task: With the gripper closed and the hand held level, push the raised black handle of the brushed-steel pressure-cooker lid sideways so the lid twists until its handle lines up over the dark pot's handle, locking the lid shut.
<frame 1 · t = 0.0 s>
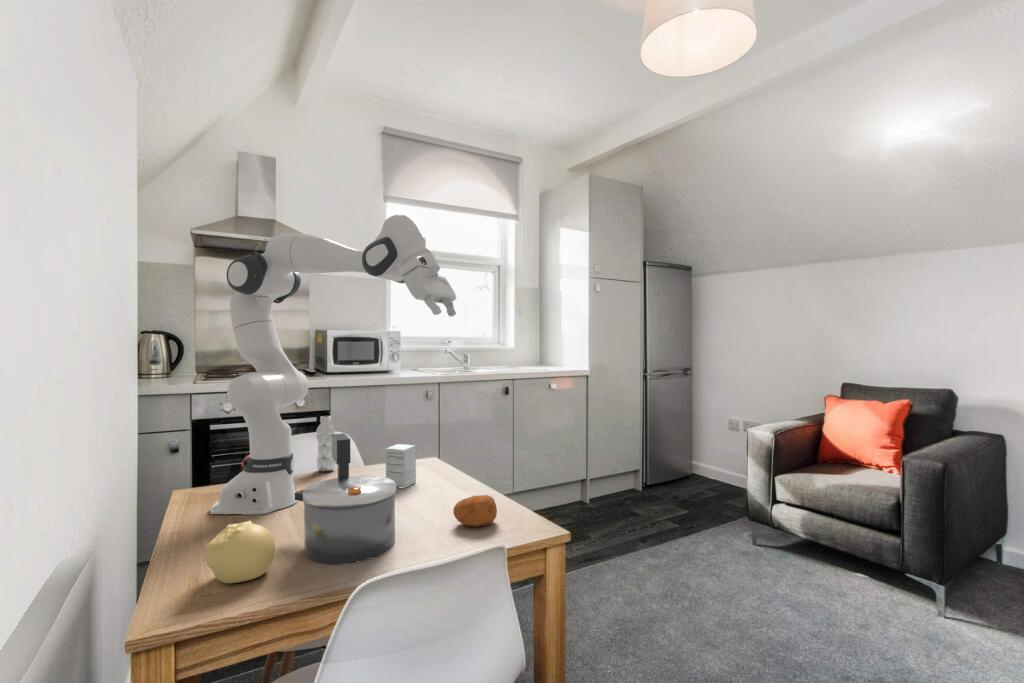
hand: (445, 314, 129), 54 cm above the table, tool tilted 30°, fingers open, 8 cm apart
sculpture: (242, 577, 101), on the table
cooker lid: (347, 466, 119), point 18 cm above the table, hinge at -35.0°
potato: (475, 525, 128), on the table
plastic bottle: (326, 471, 182), on the table
supplement box: (401, 485, 164), on the table
cooker pot: (351, 545, 116), on the table
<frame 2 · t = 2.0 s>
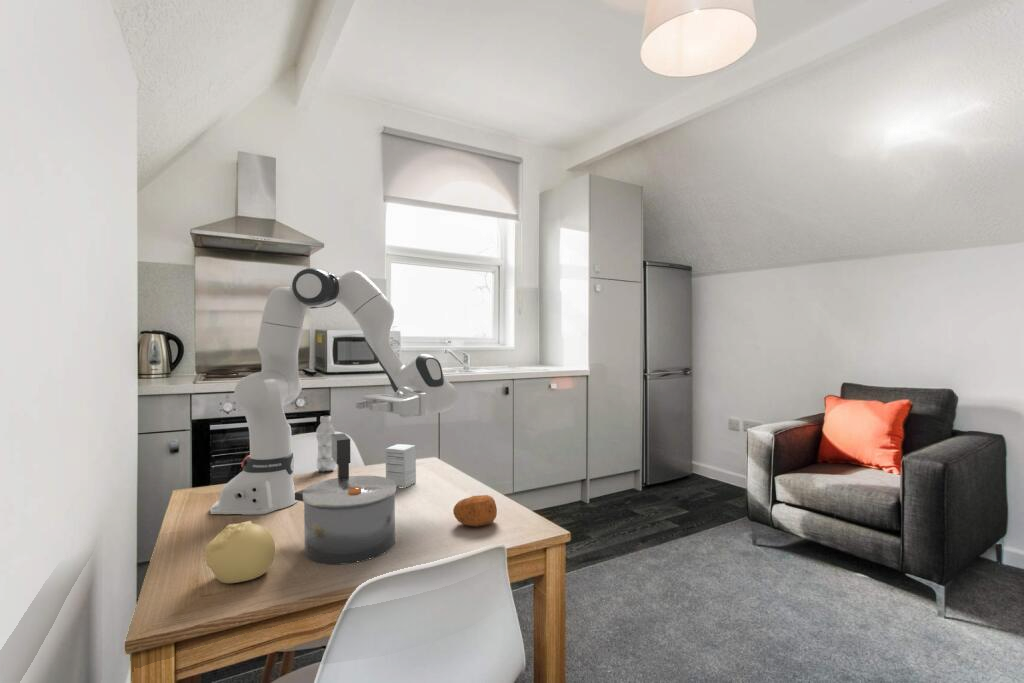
hand: (364, 406, 133), 30 cm above the table, tool horizontal, fingers open, 6 cm apart
nothing on the table moved.
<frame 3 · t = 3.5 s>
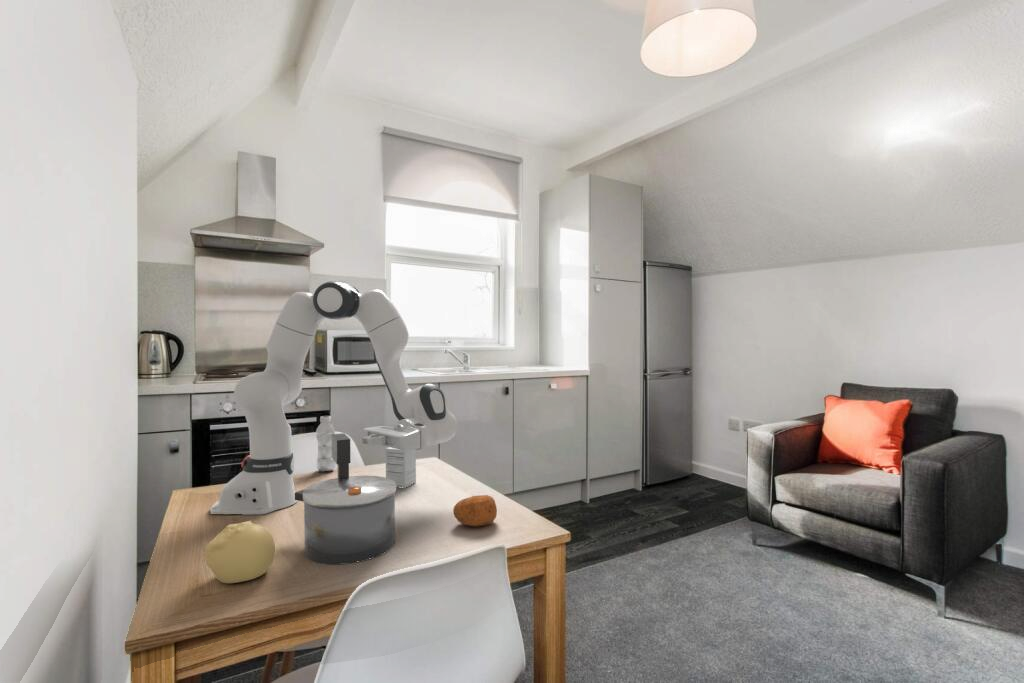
hand: (365, 441, 133), 21 cm above the table, tool horizontal, fingers closed
nothing on the table moved.
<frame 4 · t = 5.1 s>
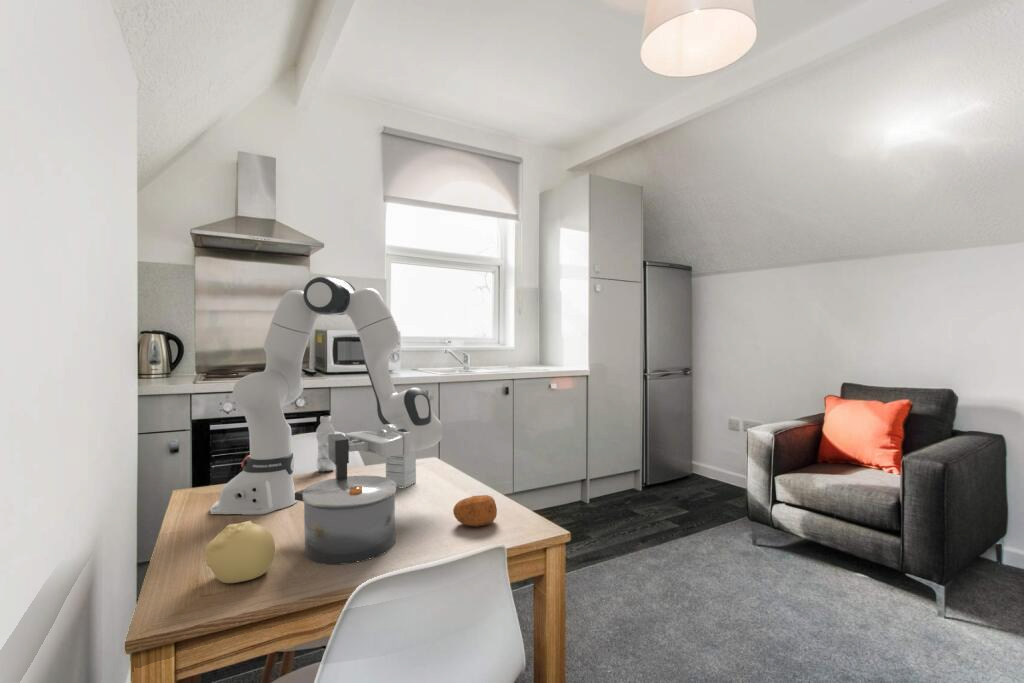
hand: (346, 447, 129), 20 cm above the table, tool horizontal, fingers closed
cooker lid: (346, 466, 119), point 18 cm above the table, hinge at -32.4°, touching gripper
everything else where it was.
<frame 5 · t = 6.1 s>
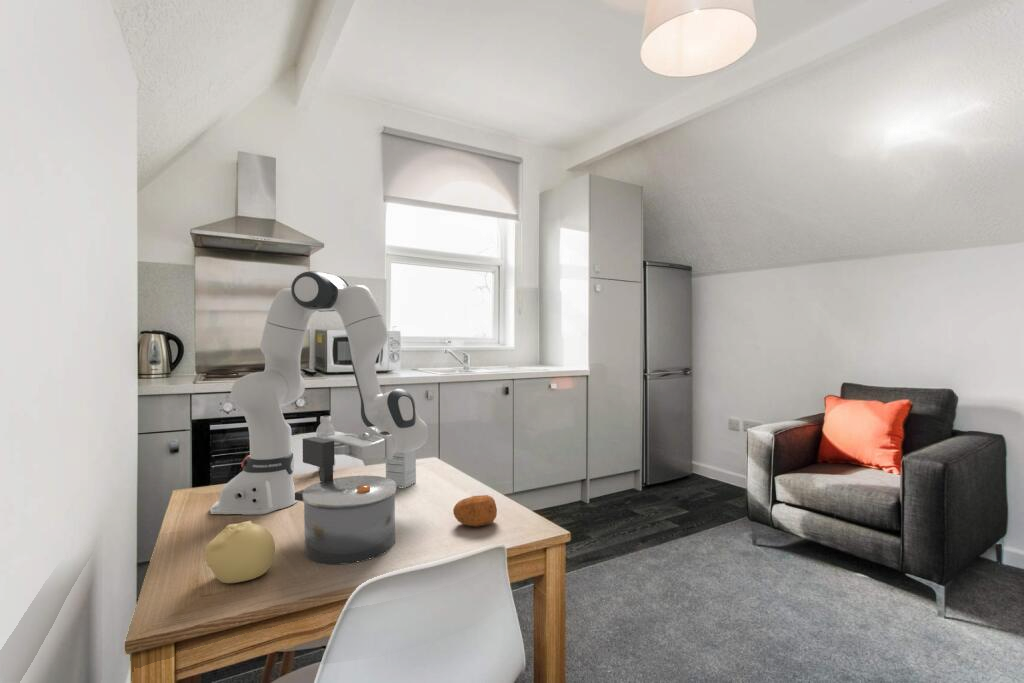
hand: (326, 451, 125), 20 cm above the table, tool horizontal, fingers closed
cooker lid: (340, 467, 118), point 18 cm above the table, hinge at -10.7°, touching gripper
everything else where it was.
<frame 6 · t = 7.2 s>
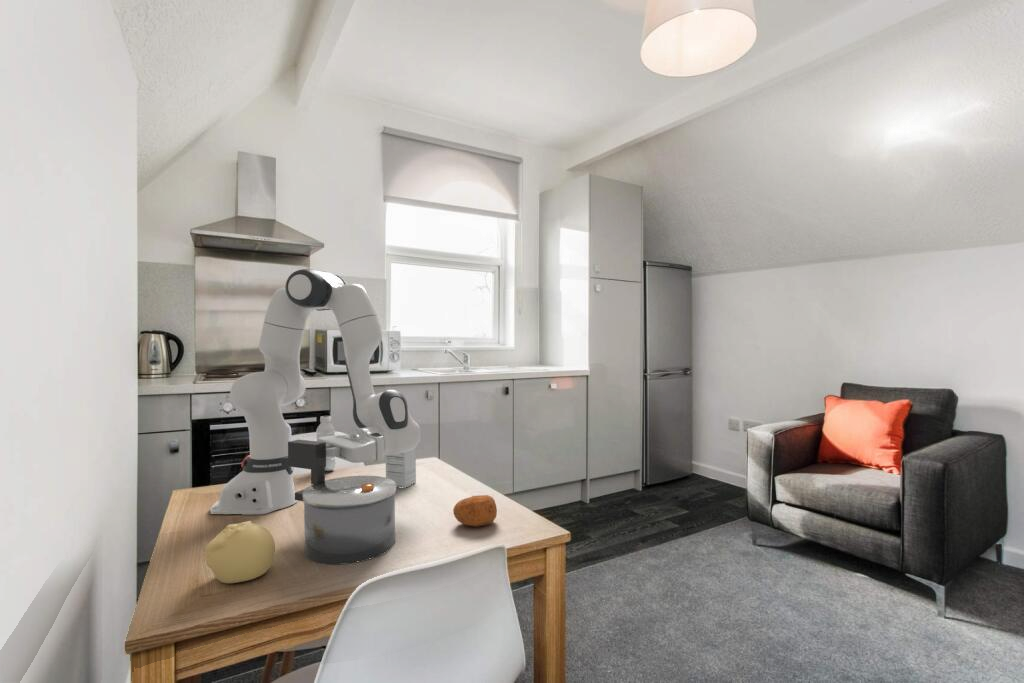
hand: (315, 453, 123), 20 cm above the table, tool horizontal, fingers closed
cooker lid: (337, 468, 117), point 18 cm above the table, hinge at 3.3°, touching gripper
everything else where it was.
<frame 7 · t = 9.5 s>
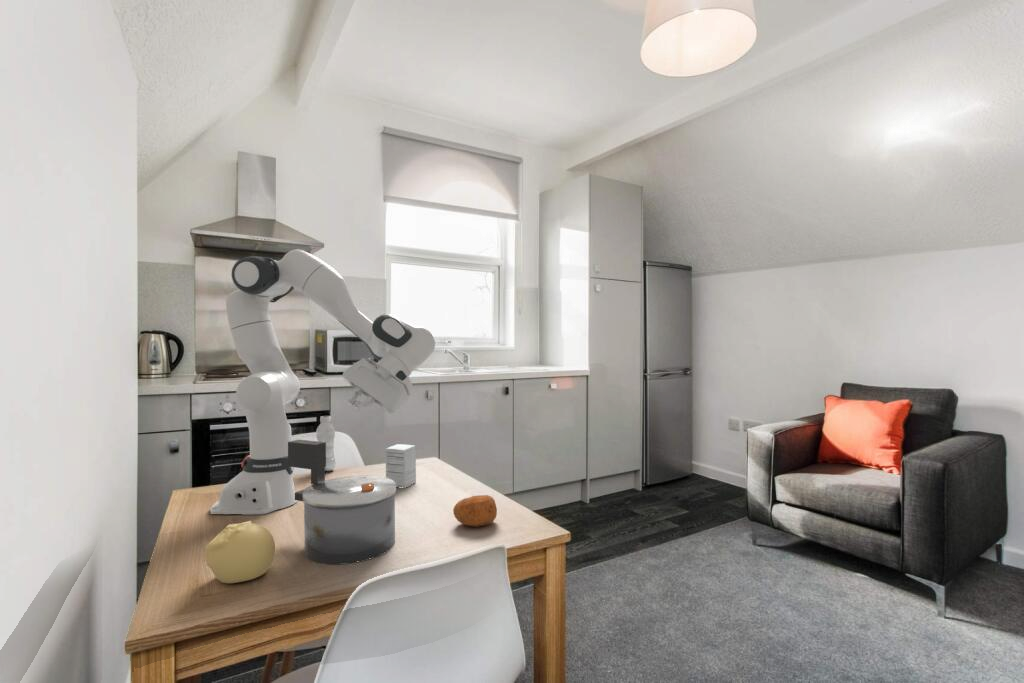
hand: (353, 406, 133), 30 cm above the table, tool tilted 50°, fingers closed
cooker lid: (337, 468, 117), point 18 cm above the table, hinge at 3.4°
everything else where it was.
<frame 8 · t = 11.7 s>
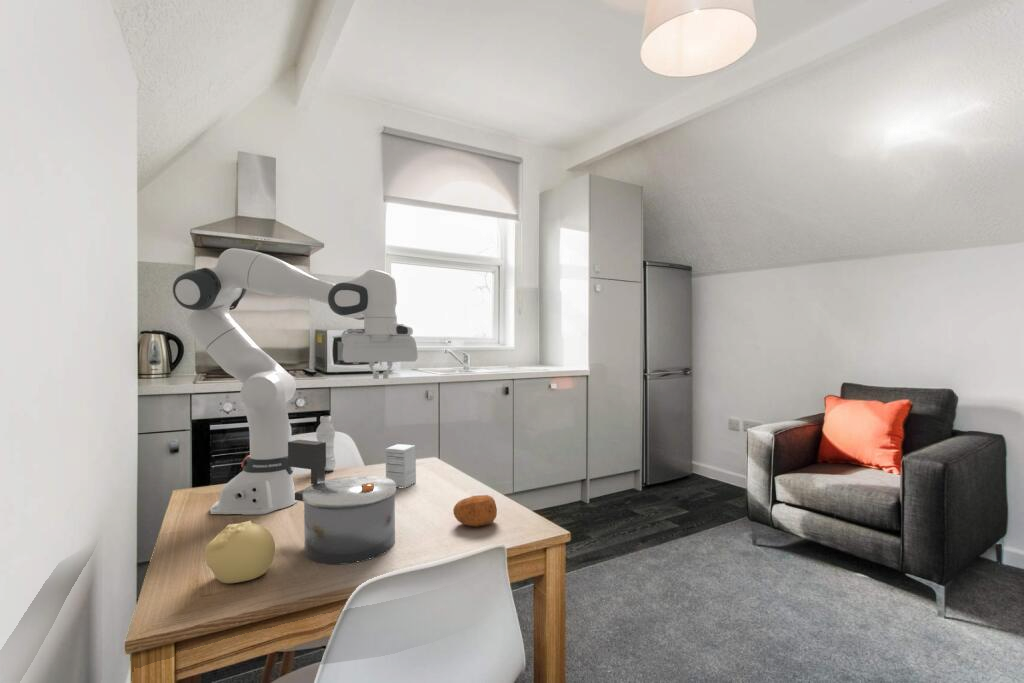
hand: (380, 378, 138), 37 cm above the table, tool pointing down, fingers closed
nothing on the table moved.
at the end: cooker lid at +3° (first picture: -35°) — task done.
